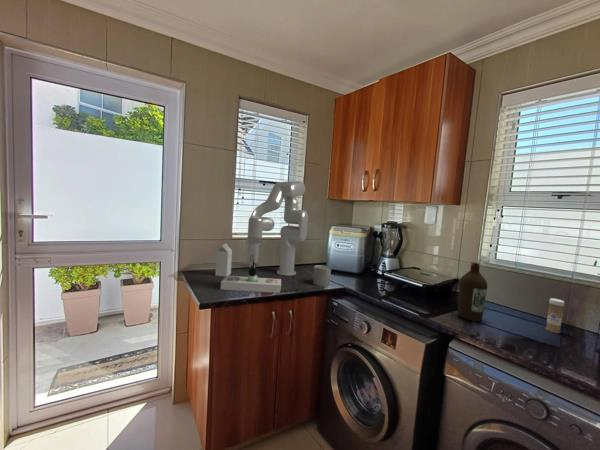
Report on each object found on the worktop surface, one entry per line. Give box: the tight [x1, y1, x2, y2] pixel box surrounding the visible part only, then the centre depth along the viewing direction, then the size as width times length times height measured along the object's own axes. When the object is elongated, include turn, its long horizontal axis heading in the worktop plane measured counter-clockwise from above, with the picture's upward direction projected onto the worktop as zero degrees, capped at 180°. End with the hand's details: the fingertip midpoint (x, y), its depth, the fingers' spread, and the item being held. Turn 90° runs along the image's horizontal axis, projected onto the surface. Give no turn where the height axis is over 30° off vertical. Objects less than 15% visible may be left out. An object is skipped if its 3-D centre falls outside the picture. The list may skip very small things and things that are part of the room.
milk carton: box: [215, 243, 233, 278], centre depth 170 cm, size 7×7×19 cm
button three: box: [247, 274, 258, 282], centre depth 149 cm, size 5×5×4 cm
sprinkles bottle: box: [545, 297, 565, 334], centre depth 117 cm, size 5×5×14 cm
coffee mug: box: [312, 264, 332, 287], centre depth 167 cm, size 13×10×10 cm
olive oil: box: [457, 261, 488, 322], centre depth 126 cm, size 11×11×25 cm
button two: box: [229, 277, 238, 281], centre depth 149 cm, size 5×5×4 cm
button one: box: [267, 278, 276, 283], centre depth 149 cm, size 5×5×4 cm
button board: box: [220, 275, 282, 294], centre depth 149 cm, size 12×30×4 cm, turn 91°
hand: (252, 275), depth 148 cm, fingers closed
